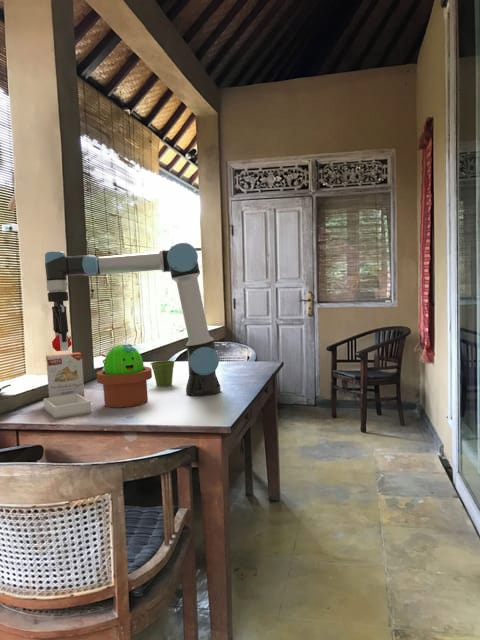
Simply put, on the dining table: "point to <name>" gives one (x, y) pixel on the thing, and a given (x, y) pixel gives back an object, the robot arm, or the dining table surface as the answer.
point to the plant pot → (163, 372)
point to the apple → (57, 343)
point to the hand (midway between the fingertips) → (62, 349)
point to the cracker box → (65, 374)
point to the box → (67, 405)
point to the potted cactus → (124, 377)
